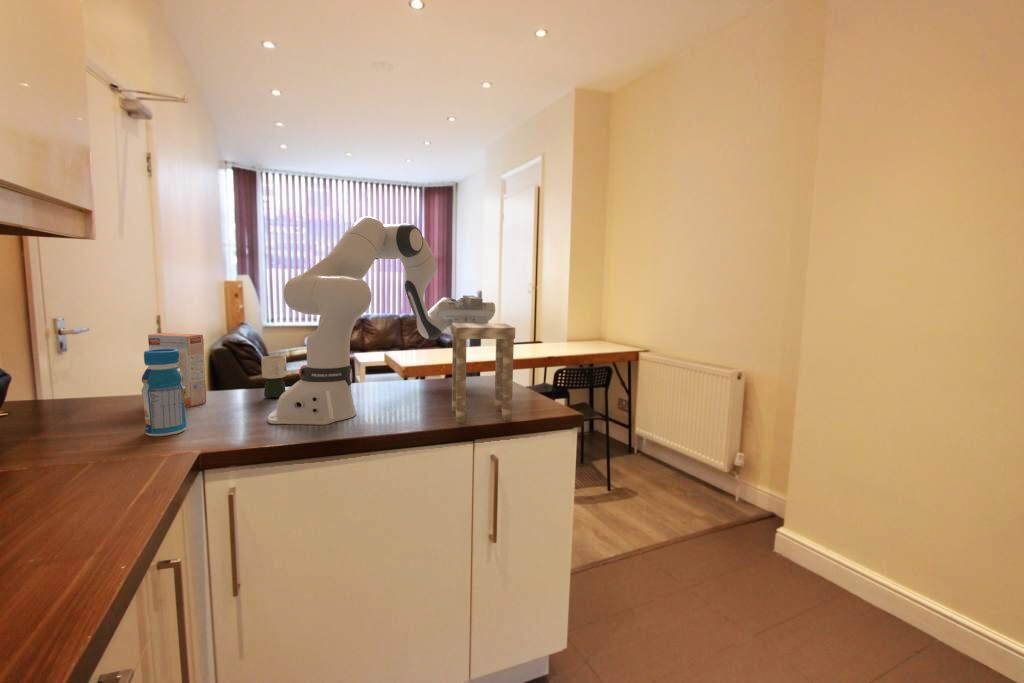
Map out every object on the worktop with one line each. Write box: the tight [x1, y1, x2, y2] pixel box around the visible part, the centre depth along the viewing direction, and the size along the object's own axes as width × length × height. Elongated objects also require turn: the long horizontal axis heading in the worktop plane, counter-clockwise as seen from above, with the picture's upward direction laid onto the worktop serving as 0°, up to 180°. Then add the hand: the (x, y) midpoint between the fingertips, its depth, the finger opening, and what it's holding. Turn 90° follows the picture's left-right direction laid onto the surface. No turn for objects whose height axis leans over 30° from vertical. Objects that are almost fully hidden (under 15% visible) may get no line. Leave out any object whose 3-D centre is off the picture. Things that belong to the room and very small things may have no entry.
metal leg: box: [462, 295, 484, 310], centre depth 155 cm, size 4×22×4 cm, turn 12°
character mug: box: [260, 355, 288, 399], centre depth 151 cm, size 11×7×13 cm, turn 44°
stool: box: [451, 323, 516, 424], centre depth 135 cm, size 16×14×26 cm
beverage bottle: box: [141, 349, 187, 437], centre depth 114 cm, size 8×8×20 cm
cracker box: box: [147, 332, 207, 408], centre depth 140 cm, size 14×6×21 cm, turn 77°
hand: (469, 299), depth 162 cm, fingers closed on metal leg, 3 cm apart
